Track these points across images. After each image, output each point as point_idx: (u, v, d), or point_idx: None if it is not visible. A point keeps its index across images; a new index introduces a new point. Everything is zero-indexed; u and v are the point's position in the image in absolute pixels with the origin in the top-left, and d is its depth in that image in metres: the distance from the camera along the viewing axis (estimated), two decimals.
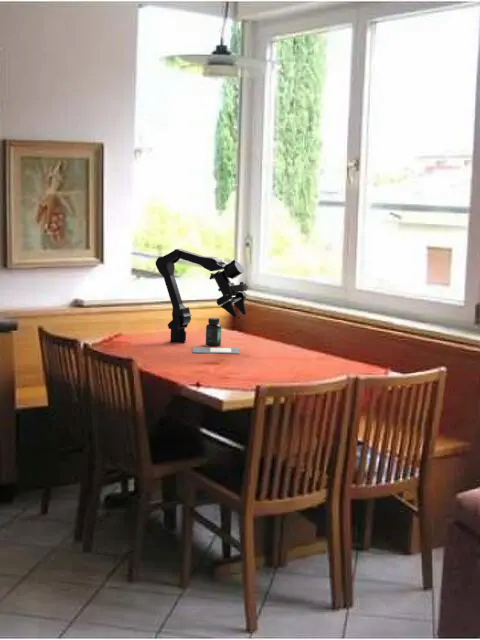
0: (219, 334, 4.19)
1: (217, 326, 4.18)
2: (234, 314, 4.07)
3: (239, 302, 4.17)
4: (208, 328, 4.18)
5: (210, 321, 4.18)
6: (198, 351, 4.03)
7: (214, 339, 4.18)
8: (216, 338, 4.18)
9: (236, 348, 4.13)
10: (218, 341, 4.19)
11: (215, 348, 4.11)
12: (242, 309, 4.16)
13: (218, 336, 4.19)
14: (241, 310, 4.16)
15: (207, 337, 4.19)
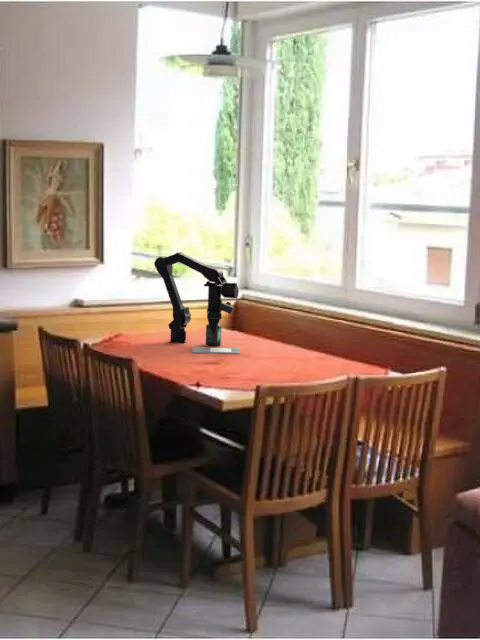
0: (219, 334, 4.19)
1: (217, 326, 4.18)
2: (214, 330, 4.17)
3: None
4: (208, 328, 4.18)
5: None
6: (198, 351, 4.03)
7: (214, 339, 4.18)
8: (216, 338, 4.18)
9: (236, 348, 4.13)
10: (218, 341, 4.19)
11: (215, 348, 4.11)
12: None
13: (218, 336, 4.19)
14: None
15: (207, 337, 4.19)
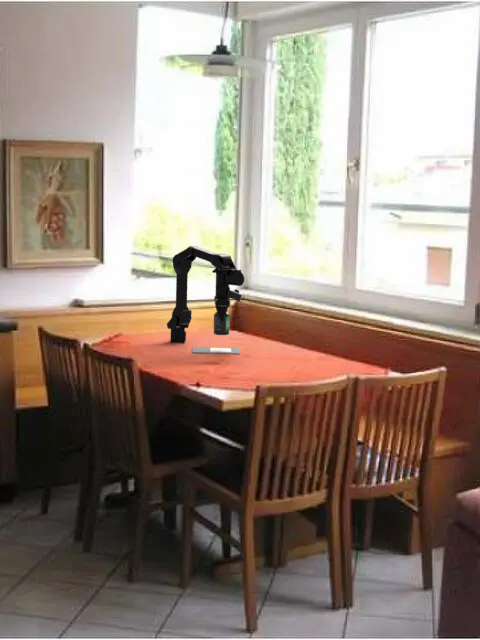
0: (228, 322, 4.05)
1: (225, 314, 4.04)
2: (222, 318, 4.02)
3: None
4: (216, 316, 4.04)
5: None
6: (198, 351, 4.03)
7: (223, 327, 4.04)
8: (224, 327, 4.04)
9: (236, 348, 4.13)
10: (227, 329, 4.05)
11: (215, 348, 4.11)
12: None
13: (226, 324, 4.04)
14: None
15: (215, 326, 4.05)
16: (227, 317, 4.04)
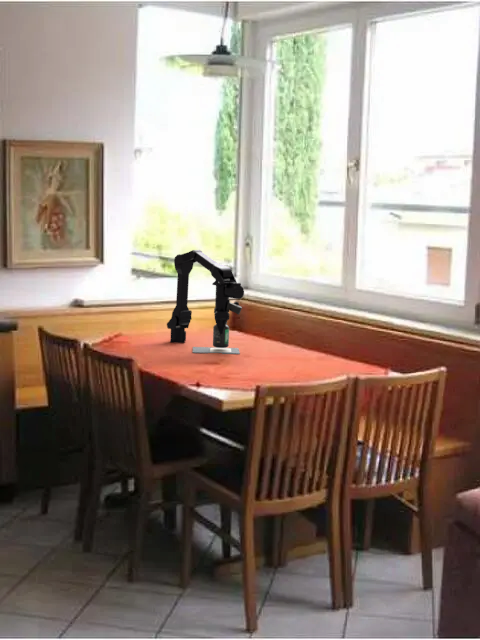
0: (227, 335, 4.05)
1: (225, 327, 4.04)
2: (221, 331, 4.02)
3: None
4: (216, 329, 4.04)
5: None
6: (198, 351, 4.03)
7: (222, 340, 4.04)
8: (224, 339, 4.04)
9: (236, 348, 4.13)
10: (226, 342, 4.05)
11: (215, 348, 4.11)
12: None
13: (226, 337, 4.04)
14: None
15: (214, 338, 4.05)
16: (226, 330, 4.04)
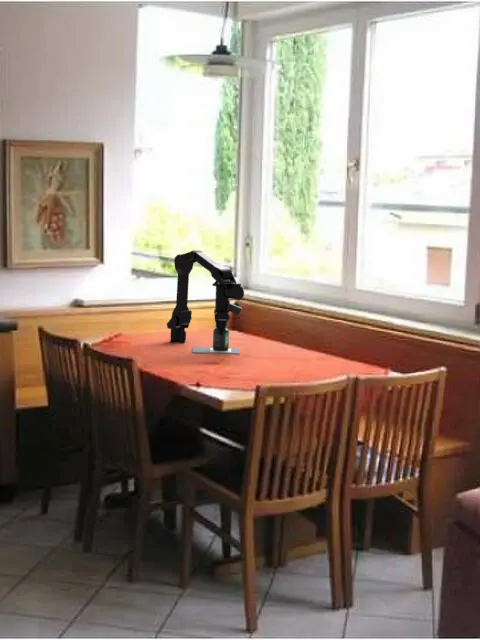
0: (227, 338, 4.05)
1: (225, 330, 4.04)
2: (221, 332, 4.01)
3: None
4: (215, 332, 4.04)
5: None
6: (198, 351, 4.03)
7: (222, 344, 4.04)
8: (224, 343, 4.04)
9: (236, 348, 4.13)
10: (226, 345, 4.05)
11: None
12: None
13: (226, 340, 4.04)
14: None
15: (214, 342, 4.05)
16: (226, 333, 4.04)
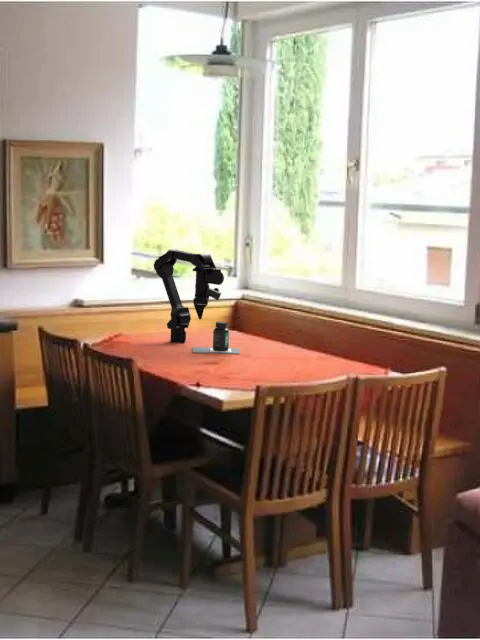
0: (227, 338, 4.05)
1: (225, 330, 4.04)
2: (200, 316, 4.11)
3: None
4: (215, 332, 4.04)
5: (217, 325, 4.04)
6: (198, 351, 4.03)
7: (222, 344, 4.04)
8: (224, 343, 4.04)
9: (236, 348, 4.13)
10: (226, 345, 4.05)
11: None
12: None
13: (226, 340, 4.04)
14: None
15: (214, 342, 4.05)
16: (226, 333, 4.04)
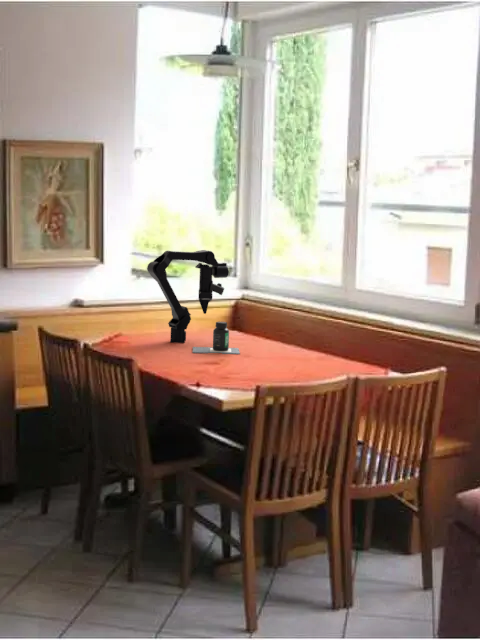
0: (227, 338, 4.05)
1: (225, 330, 4.04)
2: (205, 311, 4.26)
3: None
4: (215, 332, 4.04)
5: (217, 325, 4.04)
6: (198, 351, 4.03)
7: (222, 344, 4.04)
8: (224, 343, 4.04)
9: (236, 348, 4.13)
10: (226, 345, 4.05)
11: None
12: None
13: (226, 340, 4.04)
14: None
15: (214, 342, 4.05)
16: (226, 333, 4.04)
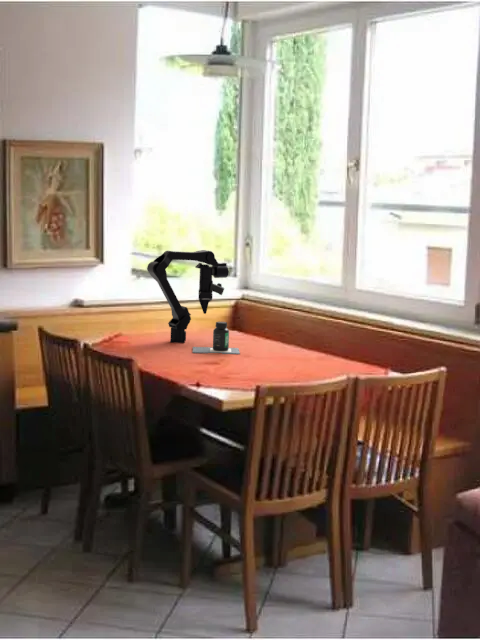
0: (227, 338, 4.05)
1: (225, 330, 4.04)
2: (205, 311, 4.26)
3: None
4: (215, 332, 4.04)
5: (217, 325, 4.04)
6: (198, 351, 4.03)
7: (222, 344, 4.04)
8: (224, 343, 4.04)
9: (236, 348, 4.13)
10: (226, 345, 4.05)
11: None
12: None
13: (226, 340, 4.04)
14: None
15: (214, 342, 4.05)
16: (226, 333, 4.04)
